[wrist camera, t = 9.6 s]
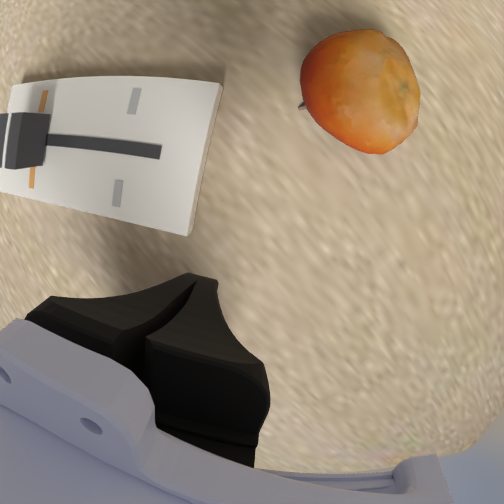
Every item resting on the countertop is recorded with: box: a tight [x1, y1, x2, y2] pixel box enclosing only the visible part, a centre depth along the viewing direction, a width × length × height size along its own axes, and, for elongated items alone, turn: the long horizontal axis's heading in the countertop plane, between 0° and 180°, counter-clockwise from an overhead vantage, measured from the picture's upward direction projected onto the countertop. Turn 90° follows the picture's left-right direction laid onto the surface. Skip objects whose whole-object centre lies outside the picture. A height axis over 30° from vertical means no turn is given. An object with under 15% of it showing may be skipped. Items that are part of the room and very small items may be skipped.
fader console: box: [0, 76, 223, 236], centre depth 19 cm, size 22×11×2 cm, turn 77°
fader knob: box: [0, 112, 50, 170], centre depth 17 cm, size 4×4×4 cm
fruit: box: [299, 29, 420, 154], centre depth 15 cm, size 8×8×8 cm
